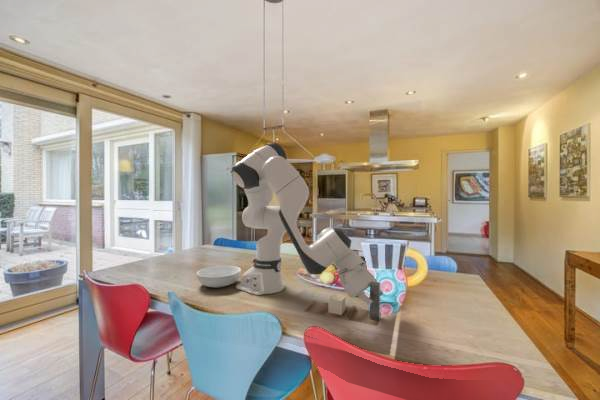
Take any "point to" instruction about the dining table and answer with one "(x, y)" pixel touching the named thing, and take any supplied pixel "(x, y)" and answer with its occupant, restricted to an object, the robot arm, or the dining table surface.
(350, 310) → the walnut strip
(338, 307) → the cream cube
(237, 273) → the serving bowl
